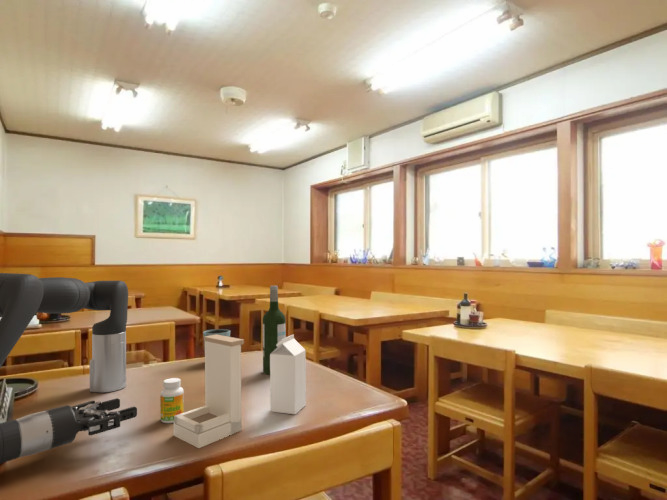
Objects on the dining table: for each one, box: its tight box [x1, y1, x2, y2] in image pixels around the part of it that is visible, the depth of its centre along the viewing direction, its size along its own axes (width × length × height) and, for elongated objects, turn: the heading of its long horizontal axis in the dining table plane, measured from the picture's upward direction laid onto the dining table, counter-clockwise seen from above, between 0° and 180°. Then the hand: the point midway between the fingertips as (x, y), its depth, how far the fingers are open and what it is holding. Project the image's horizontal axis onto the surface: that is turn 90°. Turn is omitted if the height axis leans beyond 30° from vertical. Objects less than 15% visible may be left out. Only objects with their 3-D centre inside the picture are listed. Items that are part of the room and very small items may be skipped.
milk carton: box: [269, 333, 307, 415], centre depth 109 cm, size 7×7×19 cm
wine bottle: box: [262, 285, 287, 376], centre depth 144 cm, size 8×8×30 cm
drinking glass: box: [202, 328, 231, 351], centre depth 158 cm, size 10×10×12 cm
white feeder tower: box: [173, 334, 245, 449], centre depth 95 cm, size 12×11×21 cm
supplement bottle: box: [159, 377, 185, 424], centre depth 103 cm, size 5×5×10 cm
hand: (127, 406), depth 94 cm, fingers open, 8 cm apart
